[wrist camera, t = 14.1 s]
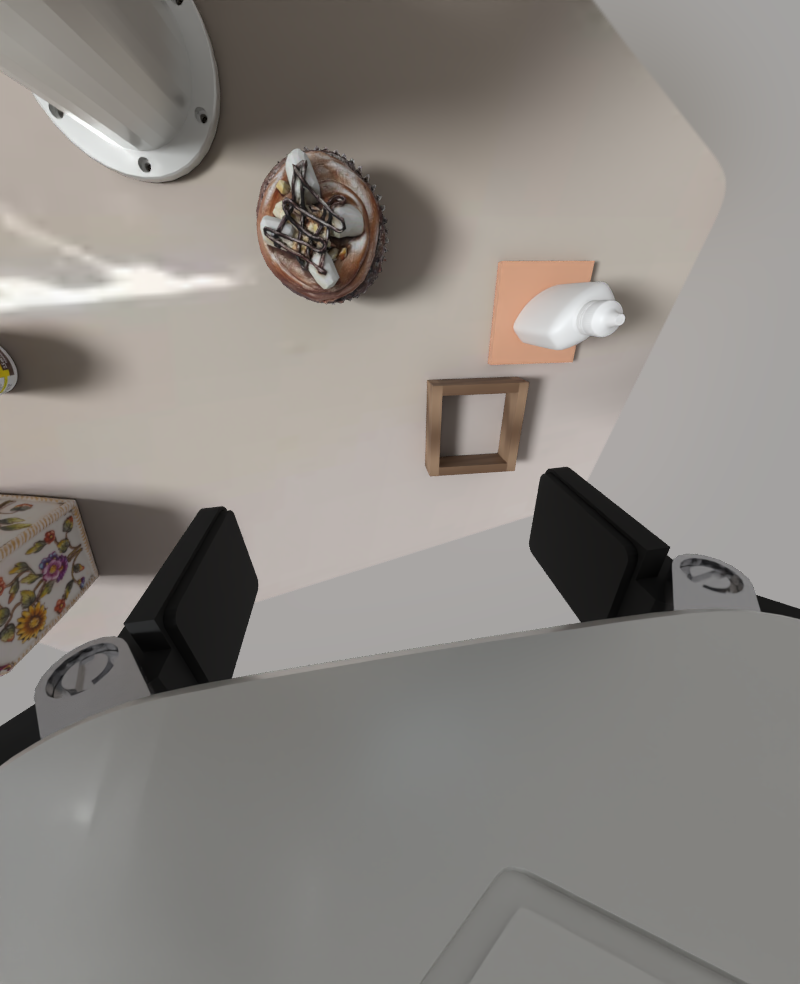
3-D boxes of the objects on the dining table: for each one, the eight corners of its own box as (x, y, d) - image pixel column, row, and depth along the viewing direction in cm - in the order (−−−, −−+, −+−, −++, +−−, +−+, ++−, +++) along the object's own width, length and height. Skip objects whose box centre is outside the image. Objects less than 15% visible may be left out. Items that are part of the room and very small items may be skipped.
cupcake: (361, 322, 33) (364, 330, 25) (259, 273, 31) (222, 262, 22) (402, 210, 30) (422, 172, 21) (289, 141, 27) (259, 64, 18)
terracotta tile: (498, 262, 32) (502, 261, 32) (588, 262, 33) (594, 261, 32) (487, 363, 37) (491, 364, 36) (567, 360, 38) (572, 362, 37)
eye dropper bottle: (566, 330, 35) (656, 342, 25) (512, 345, 35) (579, 363, 25) (566, 281, 33) (664, 271, 22) (509, 297, 33) (581, 295, 23)
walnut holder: (427, 380, 37) (433, 385, 34) (517, 376, 38) (529, 382, 35) (425, 465, 42) (429, 476, 39) (504, 460, 43) (514, 470, 40)
